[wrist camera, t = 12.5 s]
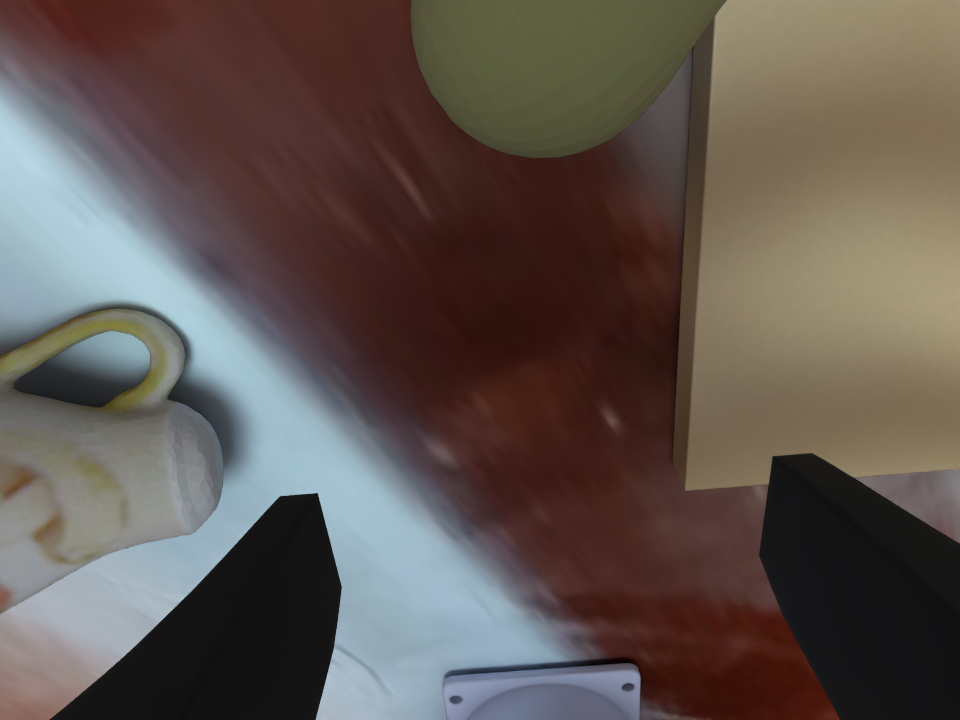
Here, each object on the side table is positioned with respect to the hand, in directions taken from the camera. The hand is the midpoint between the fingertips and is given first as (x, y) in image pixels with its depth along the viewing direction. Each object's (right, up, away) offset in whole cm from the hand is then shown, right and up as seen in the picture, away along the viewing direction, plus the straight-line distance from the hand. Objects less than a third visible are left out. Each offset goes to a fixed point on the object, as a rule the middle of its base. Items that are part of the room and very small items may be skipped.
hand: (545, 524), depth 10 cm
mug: (-14, +1, +11) cm, 18 cm away
